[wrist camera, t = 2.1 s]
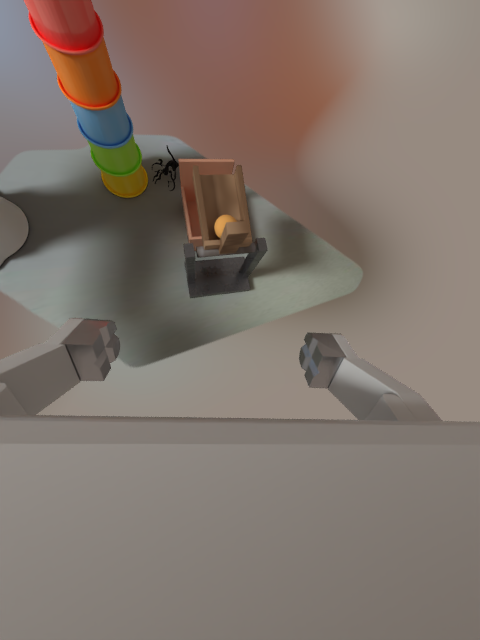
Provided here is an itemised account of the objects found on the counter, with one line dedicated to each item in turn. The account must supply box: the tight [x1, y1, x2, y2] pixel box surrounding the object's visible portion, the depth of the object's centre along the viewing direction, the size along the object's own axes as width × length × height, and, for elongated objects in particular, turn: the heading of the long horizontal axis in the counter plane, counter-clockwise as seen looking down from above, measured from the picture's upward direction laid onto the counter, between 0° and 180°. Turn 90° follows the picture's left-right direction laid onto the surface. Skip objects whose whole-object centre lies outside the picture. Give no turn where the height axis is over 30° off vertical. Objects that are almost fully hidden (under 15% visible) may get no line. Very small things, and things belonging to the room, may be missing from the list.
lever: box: [193, 165, 255, 257], centre depth 36 cm, size 10×14×11 cm
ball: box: [214, 215, 237, 238], centre depth 38 cm, size 4×4×4 cm
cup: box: [179, 159, 234, 251], centre depth 51 cm, size 11×13×13 cm
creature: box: [152, 145, 179, 191], centre depth 55 cm, size 8×5×8 cm
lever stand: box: [184, 238, 267, 298], centre depth 48 cm, size 15×8×17 cm, turn 101°
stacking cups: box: [24, 0, 148, 198], centre depth 38 cm, size 10×10×35 cm
